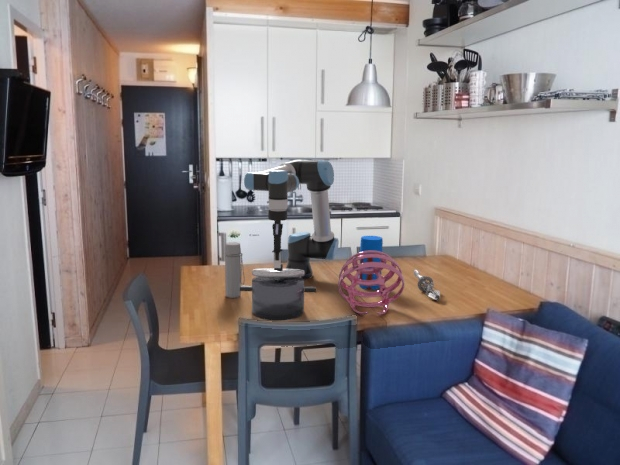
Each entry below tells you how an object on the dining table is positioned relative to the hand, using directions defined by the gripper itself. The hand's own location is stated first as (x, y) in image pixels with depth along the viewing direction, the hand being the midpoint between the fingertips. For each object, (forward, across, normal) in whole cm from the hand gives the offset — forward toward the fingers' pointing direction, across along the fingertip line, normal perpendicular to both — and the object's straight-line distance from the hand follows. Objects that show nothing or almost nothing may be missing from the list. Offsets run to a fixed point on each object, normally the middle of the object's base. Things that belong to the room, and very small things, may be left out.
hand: (277, 267), depth 208 cm
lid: (+6, -9, 0) cm, 10 cm away
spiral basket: (+22, -12, +40) cm, 47 cm away
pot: (+22, -8, 0) cm, 23 cm away
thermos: (+22, -48, +44) cm, 68 cm away
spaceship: (+22, -41, +70) cm, 84 cm away
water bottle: (+22, -28, -21) cm, 41 cm away
